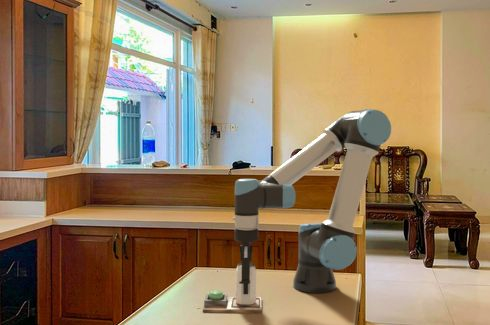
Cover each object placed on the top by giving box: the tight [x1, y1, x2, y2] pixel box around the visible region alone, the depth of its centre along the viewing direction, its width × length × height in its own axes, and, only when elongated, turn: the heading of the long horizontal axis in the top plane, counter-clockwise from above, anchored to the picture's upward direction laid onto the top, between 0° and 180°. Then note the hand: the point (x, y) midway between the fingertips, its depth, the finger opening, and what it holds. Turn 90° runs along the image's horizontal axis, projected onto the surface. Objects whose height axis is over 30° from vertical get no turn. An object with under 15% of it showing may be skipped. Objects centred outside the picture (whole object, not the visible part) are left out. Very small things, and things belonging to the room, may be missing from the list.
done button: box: [208, 290, 224, 300], centre depth 162 cm, size 4×4×2 cm
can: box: [235, 263, 257, 306], centre depth 162 cm, size 6×6×12 cm
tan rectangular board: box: [202, 293, 263, 314], centre depth 162 cm, size 18×13×3 cm
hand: (246, 299), depth 162 cm, fingers open, 7 cm apart
